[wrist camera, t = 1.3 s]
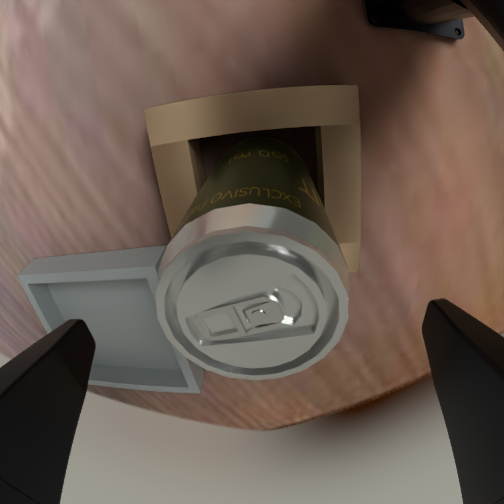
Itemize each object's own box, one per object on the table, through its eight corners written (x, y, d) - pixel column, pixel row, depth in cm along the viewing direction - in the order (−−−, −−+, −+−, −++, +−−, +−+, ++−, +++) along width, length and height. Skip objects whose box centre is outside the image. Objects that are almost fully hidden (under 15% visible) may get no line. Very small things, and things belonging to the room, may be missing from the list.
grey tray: (166, 245, 21) (154, 266, 18) (205, 370, 27) (200, 393, 25) (34, 258, 22) (17, 275, 20) (89, 364, 28) (79, 382, 26)
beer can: (235, 232, 20) (201, 394, 10) (201, 152, 18) (108, 260, 7) (318, 207, 19) (368, 361, 9) (291, 122, 17) (332, 188, 6)
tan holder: (345, 84, 15) (357, 85, 13) (349, 251, 20) (358, 272, 18) (159, 105, 16) (143, 109, 14) (192, 263, 21) (183, 285, 19)
